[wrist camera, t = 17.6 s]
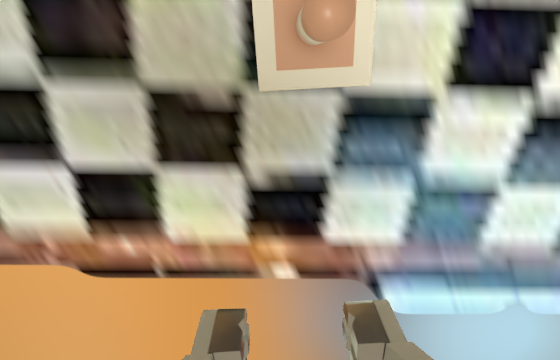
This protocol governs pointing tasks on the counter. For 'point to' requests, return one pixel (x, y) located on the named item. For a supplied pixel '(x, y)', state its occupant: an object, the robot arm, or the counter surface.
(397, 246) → the counter surface
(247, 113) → the counter surface
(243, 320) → the robot arm
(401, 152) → the counter surface
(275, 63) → the picture board
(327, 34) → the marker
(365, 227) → the counter surface
